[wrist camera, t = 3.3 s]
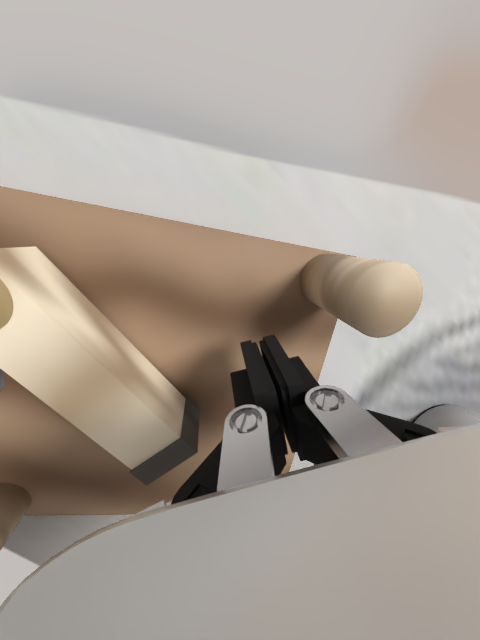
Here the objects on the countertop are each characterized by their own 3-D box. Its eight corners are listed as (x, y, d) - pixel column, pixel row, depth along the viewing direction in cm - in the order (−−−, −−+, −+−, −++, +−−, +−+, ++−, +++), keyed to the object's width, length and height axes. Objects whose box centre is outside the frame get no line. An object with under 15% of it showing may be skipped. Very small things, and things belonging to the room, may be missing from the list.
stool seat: (-28, 182, 12) (-354, 106, 5) (334, 254, 16) (438, 267, 9) (12, 479, 18) (-114, 634, 11) (268, 482, 22) (297, 602, 14)
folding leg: (-19, 280, 11) (-106, 297, 8) (33, 239, 11) (-37, 239, 8) (158, 436, 15) (146, 487, 12) (199, 409, 15) (197, 454, 12)
